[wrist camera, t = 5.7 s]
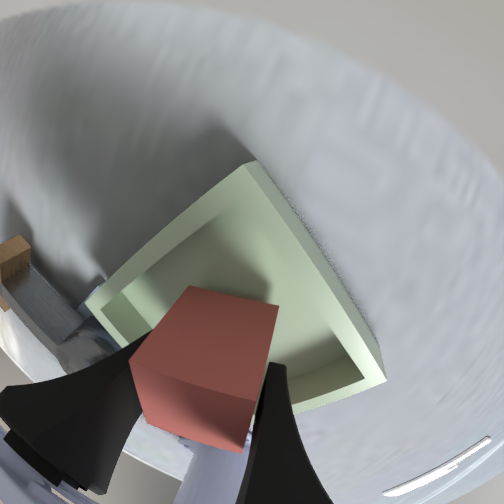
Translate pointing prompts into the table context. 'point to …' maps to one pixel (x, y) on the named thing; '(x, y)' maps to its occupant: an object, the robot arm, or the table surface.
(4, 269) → the crank
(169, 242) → the tray
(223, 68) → the table surface
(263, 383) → the robot arm
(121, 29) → the table surface
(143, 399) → the block
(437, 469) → the butcher knife
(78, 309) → the crank base
